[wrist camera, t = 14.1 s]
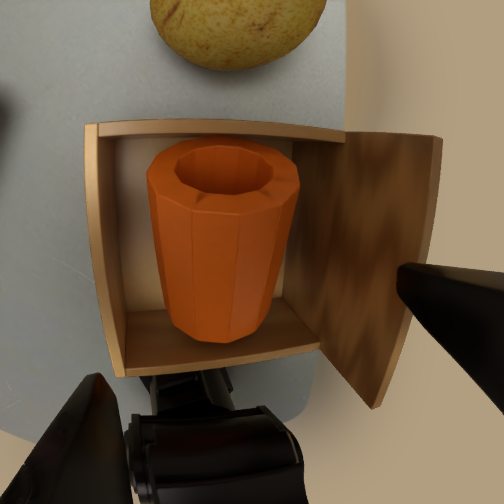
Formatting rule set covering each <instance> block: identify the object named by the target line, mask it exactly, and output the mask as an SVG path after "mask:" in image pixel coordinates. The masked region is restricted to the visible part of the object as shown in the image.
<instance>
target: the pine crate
mask: <svg viewBox="0 0 504 504" xmlns="http://www.w3.org/2000/svg"><path fill="white" fill-rule="evenodd" d="M210 136H221V137H233V138H244V139H248V140H251V141H254V142H257V143H260V144H263V145H266V146H269V147H272V148H274V149H277V150H278V151H279V152H281V153H282V154H283V155H284V156H286V157H287V158H288V159H289V160H290V161H292V162H293V163H294V164H295V165H296V167H297V172H298V176H299V181H300V190H299V194H298V198H297V202H296V207H295V211H294V215H293V219H292V223H291V227H290V231H289V235H288V239H287V243H286V247H285V251H284V255H283V259H282V263H281V267H280V271H279V275H278V278H277V282H276V286H275V290H274V294H273V297H272V301H271V305H270V309H269V312H268V314H267V316H266V317H265V319H264V320H263V321H262V323H261V324H260V326H259V327H258V328H257V330H256V331H255V332H253V333H252V334H249V335H247V336H244V337H242V338H240V339H237V340H235V341H232V342H230V343H216V342H205V341H198V340H195V339H194V338H192V337H191V336H189V335H188V334H186V333H185V332H183V331H182V330H180V329H179V328H177V327H176V326H174V324H173V323H172V320H171V318H170V316H169V314H168V311H167V309H166V307H165V305H164V300H163V295H162V289H161V283H160V277H159V271H158V265H157V259H156V252H155V245H154V238H153V231H152V224H151V216H150V207H149V199H148V189H147V179H146V172H147V170H148V168H149V166H150V165H151V163H152V161H153V159H154V158H155V156H156V154H158V153H160V152H161V151H163V150H165V149H167V148H169V147H171V146H173V145H175V144H177V143H179V142H182V141H185V140H191V139H197V138H204V137H210ZM442 146H443V139H442V138H440V137H437V136H433V135H421V134H406V133H386V132H345V131H340V130H334V129H326V128H319V127H311V126H303V125H294V124H284V123H272V122H260V121H244V120H223V119H147V120H126V121H111V122H100V123H89V124H85V126H84V172H85V195H86V210H87V222H88V233H89V242H90V250H91V258H92V266H93V273H94V279H95V285H96V291H97V297H98V303H99V308H100V313H101V318H102V323H103V327H104V332H105V337H106V341H107V345H108V349H109V353H110V357H111V361H112V365H113V369H114V372H115V376H116V377H117V378H120V377H126V376H127V377H136V376H149V375H161V374H171V373H181V372H190V371H198V370H206V369H214V368H221V367H228V366H234V365H241V364H247V363H253V362H259V361H265V360H270V359H276V358H281V357H286V356H291V355H296V354H301V353H305V352H310V351H315V350H319V349H320V350H321V351H322V353H323V354H324V355H325V356H326V357H327V358H328V360H329V361H330V362H331V363H332V364H333V366H334V367H335V368H336V369H337V370H338V371H339V373H340V374H341V375H342V376H343V377H344V378H345V380H346V381H347V382H348V383H349V384H350V385H351V387H352V388H353V389H354V390H355V391H356V393H357V394H358V395H359V396H360V397H361V398H362V399H363V401H364V402H365V403H366V404H367V405H368V406H369V408H370V409H375V408H377V407H380V405H381V403H382V401H383V398H384V396H385V393H386V391H387V388H388V386H389V384H390V381H391V378H392V376H393V373H394V370H395V368H396V365H397V362H398V359H399V356H400V354H401V351H402V348H403V345H404V342H405V339H406V335H407V332H408V329H409V326H410V323H411V319H412V316H413V314H412V312H411V311H410V310H409V309H408V307H407V306H406V305H405V304H404V303H403V301H402V300H401V299H400V298H399V297H398V295H397V292H396V272H397V268H398V267H399V266H400V265H402V264H404V263H407V262H414V263H423V264H426V260H427V255H428V251H429V246H430V240H431V234H432V230H433V224H434V218H435V211H436V204H437V197H438V189H439V181H440V170H441V159H442Z"/></svg>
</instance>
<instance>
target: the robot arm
mask: <svg viewBox="0 0 504 504" xmlns="http://www.w3.org/2000/svg"><path fill="white" fill-rule="evenodd" d="M396 292H397V295H398V297H399V298H400V299H401V300H402V301H403V303H404V304H405V305H406V306H407V307H408V309H409V310H410V311H411V312H412V314H413V315H414V316H415V317H416V319H417V320H418V321H419V322H420V323H421V325H422V326H423V327H424V328H425V329H426V330H427V331H428V333H429V334H430V335H431V336H432V337H433V338H434V339H435V340H436V341H437V342H438V343H439V344H440V345H441V346H442V347H443V348H444V349H445V350H446V351H447V352H448V353H449V354H450V355H451V356H452V358H453V359H454V360H455V361H456V362H457V363H458V364H459V365H460V366H461V367H462V368H463V369H464V370H465V371H466V372H467V374H468V375H469V376H470V377H471V378H472V379H473V380H474V381H475V383H476V384H477V385H478V386H479V387H480V388H481V389H482V390H483V391H484V392H485V394H486V395H487V396H488V397H489V398H490V399H491V401H492V402H493V403H494V404H495V405H496V406H497V408H498V409H499V410H500V411H501V412H503V415H504V273H502V272H494V271H493V272H492V271H485V270H476V269H467V268H458V267H449V266H440V265H432V264H423V263H414V262H407V263H404V264H402V265H400V266H399V267H398V268H397V272H396ZM139 377H140V379H141V381H142V382H143V384H144V385H145V387H146V389H147V390H148V392H149V393H150V396H151V406H152V415H140V414H132V418H131V423H129V429H128V430H127V431H125V432H124V435H123V431H122V425H121V420H120V415H119V409H118V403H117V399H116V396H115V394H114V392H113V390H112V389H111V387H110V386H109V384H108V383H107V381H106V380H105V378H104V377H103V375H102V374H101V373H94V374H90V375H87V376H86V377H85V378H84V379H83V380H82V382H81V383H80V384H79V386H78V387H77V388H76V390H75V391H74V392H73V394H72V395H71V397H70V398H69V399H68V401H67V402H66V403H65V405H64V406H63V407H62V409H61V410H60V412H59V413H58V414H57V416H56V417H55V419H54V420H53V421H52V423H51V424H50V426H49V427H48V428H47V430H46V431H45V433H44V434H43V436H42V437H41V438H40V440H39V441H38V443H37V444H36V446H35V447H34V449H33V450H32V452H31V453H30V455H29V456H28V457H27V459H26V461H25V462H24V464H25V465H24V464H23V465H22V466H21V468H20V470H19V471H18V473H17V474H16V476H15V477H14V478H13V480H12V482H11V483H10V484H9V486H8V487H7V489H6V490H5V491H4V493H3V494H2V496H1V497H0V504H133V499H132V492H131V486H132V487H133V488H134V491H135V493H136V494H138V497H139V501H140V503H141V504H309V503H308V500H307V496H306V491H305V485H304V460H303V455H302V451H301V448H300V445H299V443H298V441H297V439H296V438H295V436H294V435H293V434H292V432H291V431H290V430H288V429H287V428H286V426H285V425H284V424H283V423H282V422H281V421H280V420H279V419H278V418H277V417H276V416H275V415H274V414H273V413H272V412H271V411H270V410H269V409H268V408H267V407H266V406H265V405H262V406H257V407H256V408H250V409H242V410H236V409H235V407H234V404H233V402H232V399H231V397H230V393H231V392H232V391H233V387H232V385H231V382H230V380H229V377H228V375H227V372H226V369H225V367H221V368H214V369H206V370H198V371H190V372H181V373H171V374H161V375H149V376H139ZM227 388H228V389H227Z"/></svg>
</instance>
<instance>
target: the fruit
mask: <svg viewBox="0 0 504 504" xmlns="http://www.w3.org/2000/svg"><path fill="white" fill-rule="evenodd" d="M326 1H327V0H150V9H151V17H152V20H153V23H154V25H155V27H156V29H157V31H158V33H159V35H160V36H161V37H162V39H163V40H164V41H165V42H166V44H167V45H168V46H169V47H171V48H172V49H173V50H174V51H175V52H176V53H177V54H179V55H181V56H182V57H184V58H185V59H187V60H188V61H190V62H192V63H195V64H197V65H199V66H202V67H206V68H210V69H214V70H239V69H247V68H253V67H257V66H260V65H264V64H267V63H269V62H271V61H274V60H277V59H279V58H281V57H284V56H285V55H287V54H288V53H289V52H291V51H292V50H294V49H295V48H296V47H297V46H298V45H300V44H301V43H302V42H303V41H304V40H305V39H306V38H307V37H308V36H309V34H310V33H311V32H312V31H313V29H314V28H315V27H316V25H317V23H318V21H319V19H320V16H321V14H322V12H323V10H324V8H325V4H326Z"/></svg>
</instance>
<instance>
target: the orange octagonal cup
mask: <svg viewBox="0 0 504 504" xmlns="http://www.w3.org/2000/svg"><path fill="white" fill-rule="evenodd" d="M146 179H147V189H148V199H149V207H150V216H151V224H152V231H153V238H154V245H155V252H156V259H157V265H158V271H159V277H160V283H161V289H162V295H163V300H164V305H165V307H166V309H167V311H168V314H169V316H170V318H171V320H172V323H173V324H174V326H176V327H177V328H179V329H180V330H182V331H183V332H185V333H186V334H188V335H189V336H191V337H192V338H194V339H195V340H198V341H205V342H216V343H230V342H232V341H235V340H237V339H240V338H242V337H244V336H247V335H249V334H252V333H253V332H255V331H256V330H257V328H258V327H259V326H260V324H261V323H262V321H263V320H264V319H265V317H266V316H267V314H268V312H269V309H270V305H271V301H272V297H273V294H274V290H275V286H276V282H277V278H278V275H279V271H280V267H281V263H282V259H283V255H284V251H285V247H286V243H287V239H288V235H289V231H290V227H291V223H292V219H293V215H294V211H295V207H296V202H297V198H298V194H299V190H300V181H299V176H298V172H297V167H296V165H295V164H294V163H293V162H292V161H290V160H289V159H288V158H287V157H286V156H284V155H283V154H282V153H281V152H279V151H278V150H277V149H274V148H272V147H269V146H266V145H263V144H260V143H257V142H254V141H251V140H248V139H244V138H233V137H221V136H210V137H204V138H197V139H191V140H185V141H182V142H179V143H177V144H175V145H173V146H171V147H169V148H167V149H165V150H163V151H161V152H160V153H158V154H156V156H155V158H154V159H153V161H152V163H151V165H150V166H149V168H148V170H147V172H146Z"/></svg>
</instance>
